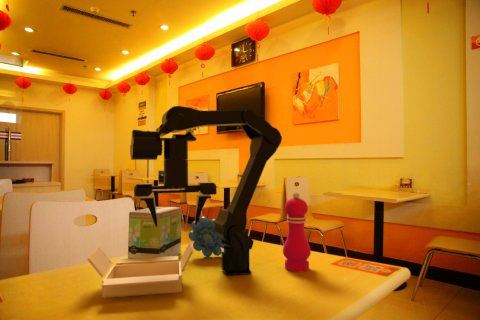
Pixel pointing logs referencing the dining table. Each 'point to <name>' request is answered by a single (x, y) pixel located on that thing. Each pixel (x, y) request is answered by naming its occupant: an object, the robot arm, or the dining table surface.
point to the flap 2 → (186, 256)
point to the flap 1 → (100, 261)
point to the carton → (143, 277)
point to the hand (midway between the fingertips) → (176, 225)
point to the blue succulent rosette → (205, 237)
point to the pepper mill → (296, 236)
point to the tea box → (154, 233)
